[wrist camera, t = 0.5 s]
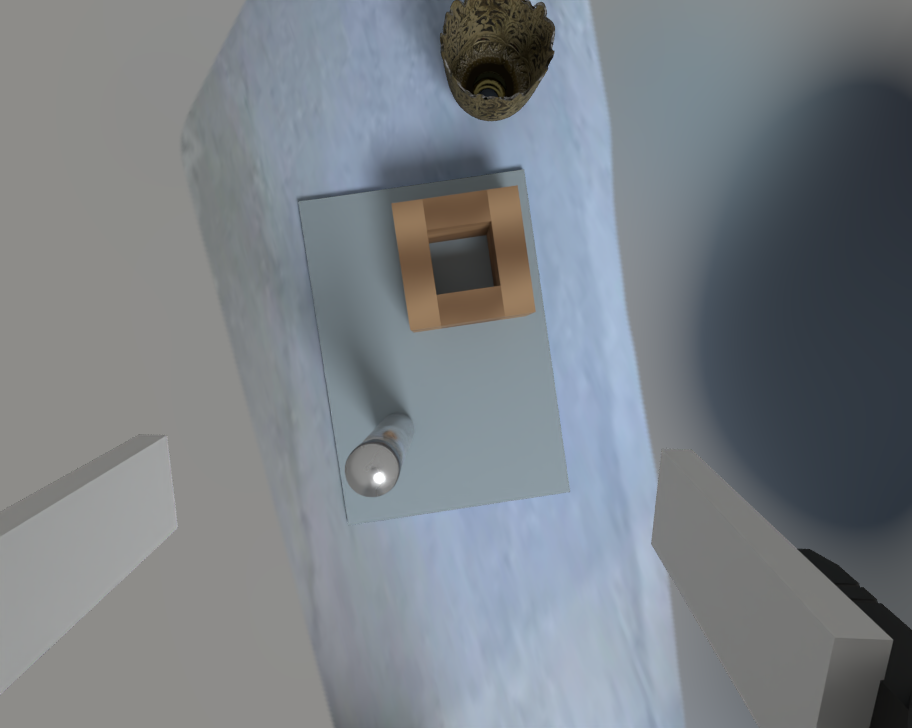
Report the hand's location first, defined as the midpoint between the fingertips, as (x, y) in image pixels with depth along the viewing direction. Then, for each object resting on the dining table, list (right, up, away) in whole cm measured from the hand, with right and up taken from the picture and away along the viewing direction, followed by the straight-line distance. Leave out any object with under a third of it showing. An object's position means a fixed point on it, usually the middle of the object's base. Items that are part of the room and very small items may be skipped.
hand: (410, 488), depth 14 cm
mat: (0, +5, +28) cm, 28 cm away
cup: (+4, +24, +27) cm, 37 cm away
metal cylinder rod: (-4, -2, +27) cm, 28 cm away
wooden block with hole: (+2, +11, +27) cm, 29 cm away
